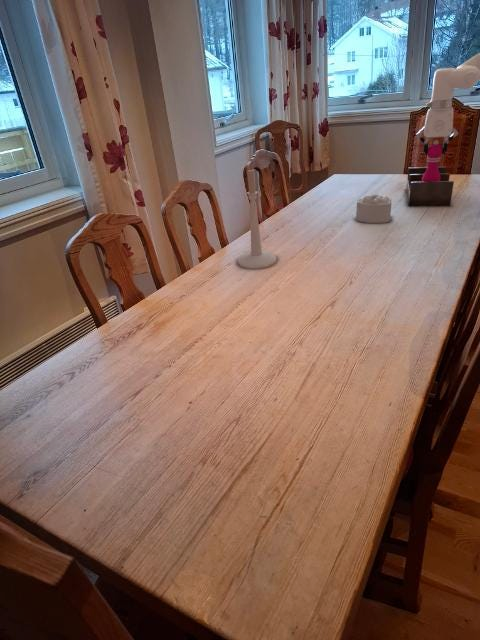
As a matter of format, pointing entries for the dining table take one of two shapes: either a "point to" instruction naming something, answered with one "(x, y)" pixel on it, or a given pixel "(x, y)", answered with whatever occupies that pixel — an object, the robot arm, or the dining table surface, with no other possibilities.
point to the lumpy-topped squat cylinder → (374, 209)
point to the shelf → (428, 188)
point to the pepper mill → (433, 163)
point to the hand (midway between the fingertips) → (434, 153)
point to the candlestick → (255, 235)
